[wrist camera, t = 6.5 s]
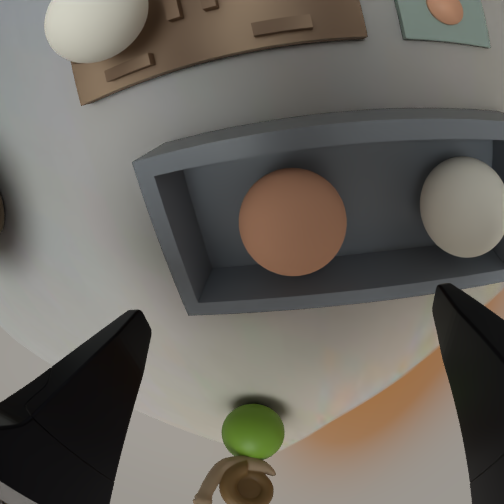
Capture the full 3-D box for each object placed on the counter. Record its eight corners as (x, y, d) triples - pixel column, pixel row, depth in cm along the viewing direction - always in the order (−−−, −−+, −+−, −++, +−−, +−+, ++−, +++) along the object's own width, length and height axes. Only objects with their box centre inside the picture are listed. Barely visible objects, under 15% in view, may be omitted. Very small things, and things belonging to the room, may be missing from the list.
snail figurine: (227, 382, 24) (195, 516, 14) (296, 402, 25) (285, 530, 15) (211, 408, 27) (182, 519, 17) (272, 425, 28) (257, 534, 18)
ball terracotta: (342, 237, 16) (356, 292, 12) (256, 247, 16) (244, 303, 13) (334, 150, 13) (351, 181, 9) (237, 164, 14) (216, 199, 10)
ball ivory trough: (482, 145, 12) (534, 175, 8) (476, 225, 14) (516, 270, 10) (405, 147, 13) (445, 177, 9) (406, 232, 15) (435, 284, 11)
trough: (497, 111, 11) (538, 124, 8) (487, 244, 15) (514, 279, 12) (165, 142, 15) (132, 162, 12) (205, 275, 19) (188, 315, 16)
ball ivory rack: (156, -34, 9) (106, -62, 5) (173, 43, 11) (123, 33, 7) (79, 4, 10) (19, -3, 6) (93, 75, 12) (32, 85, 8)
